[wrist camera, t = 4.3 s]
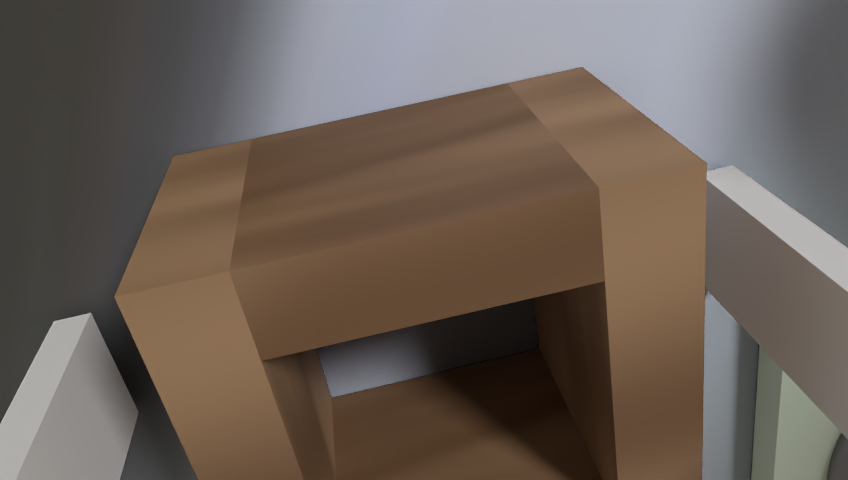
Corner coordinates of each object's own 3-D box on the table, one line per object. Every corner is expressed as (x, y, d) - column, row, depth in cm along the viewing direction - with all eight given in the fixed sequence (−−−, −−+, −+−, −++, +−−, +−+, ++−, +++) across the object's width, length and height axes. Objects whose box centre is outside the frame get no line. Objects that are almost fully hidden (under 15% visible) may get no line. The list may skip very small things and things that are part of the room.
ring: (173, 156, 14) (114, 297, 10) (582, 66, 14) (707, 163, 10) (284, 459, 18) (279, 657, 13) (604, 382, 18) (700, 552, 14)
